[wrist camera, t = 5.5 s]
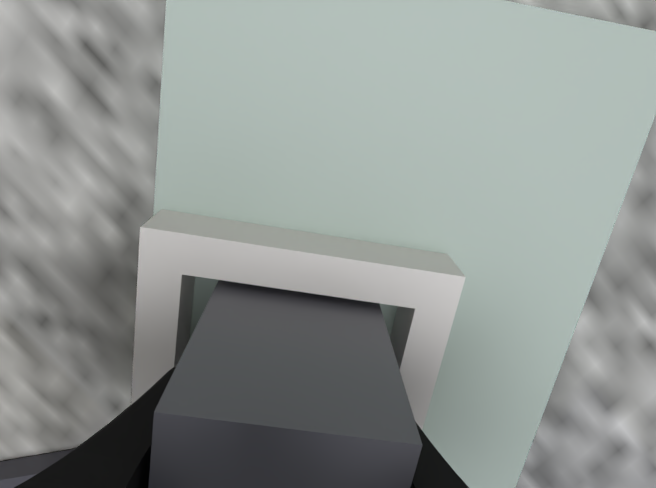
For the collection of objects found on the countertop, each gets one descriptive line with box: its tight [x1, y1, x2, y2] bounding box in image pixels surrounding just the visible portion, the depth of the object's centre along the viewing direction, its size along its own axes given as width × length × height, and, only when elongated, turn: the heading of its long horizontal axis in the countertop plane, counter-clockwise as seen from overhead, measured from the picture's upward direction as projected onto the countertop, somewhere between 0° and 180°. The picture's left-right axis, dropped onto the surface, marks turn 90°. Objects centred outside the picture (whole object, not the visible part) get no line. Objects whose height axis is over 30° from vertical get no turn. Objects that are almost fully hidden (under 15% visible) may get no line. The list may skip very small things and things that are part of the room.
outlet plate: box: [131, 0, 656, 488], centre depth 13 cm, size 16×12×3 cm
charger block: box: [148, 280, 422, 488], centre depth 10 cm, size 4×4×6 cm
